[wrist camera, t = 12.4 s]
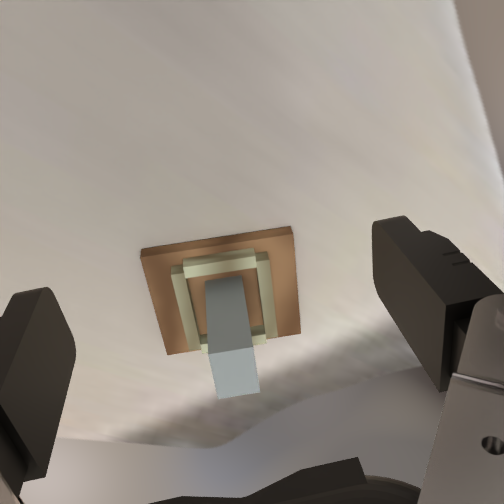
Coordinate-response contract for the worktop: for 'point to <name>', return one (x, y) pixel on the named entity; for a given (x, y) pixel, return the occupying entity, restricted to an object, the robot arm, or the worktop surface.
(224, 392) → the pale grey rectangular prism
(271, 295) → the brown framed socket base
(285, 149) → the worktop surface
